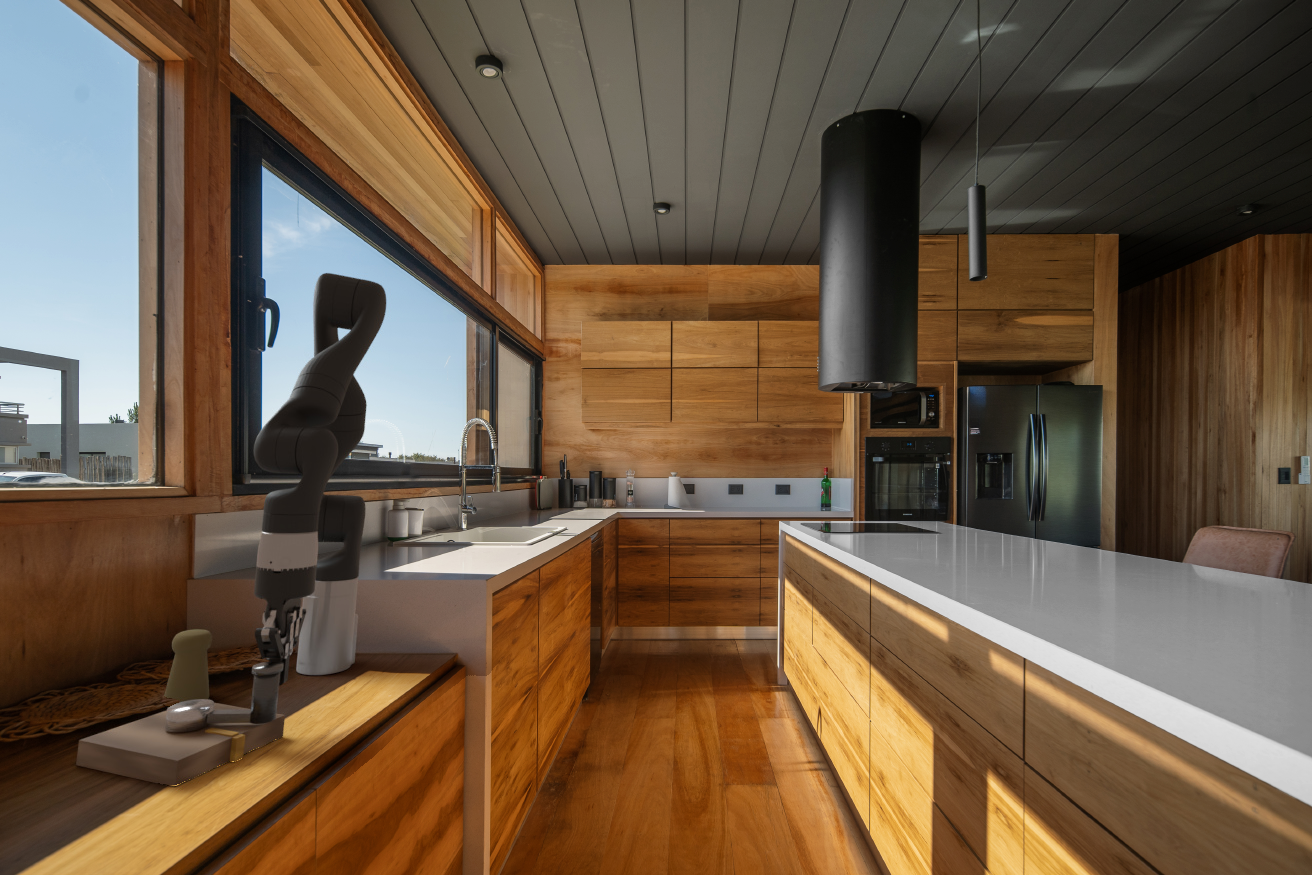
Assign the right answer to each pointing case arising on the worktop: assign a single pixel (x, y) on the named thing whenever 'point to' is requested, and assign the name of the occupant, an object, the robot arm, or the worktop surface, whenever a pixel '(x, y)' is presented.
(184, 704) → the metal lever handle
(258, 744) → the stand
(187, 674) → the olive tapered upright piece
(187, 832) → the worktop surface
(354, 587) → the robot arm
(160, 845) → the worktop surface
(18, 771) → the worktop surface
